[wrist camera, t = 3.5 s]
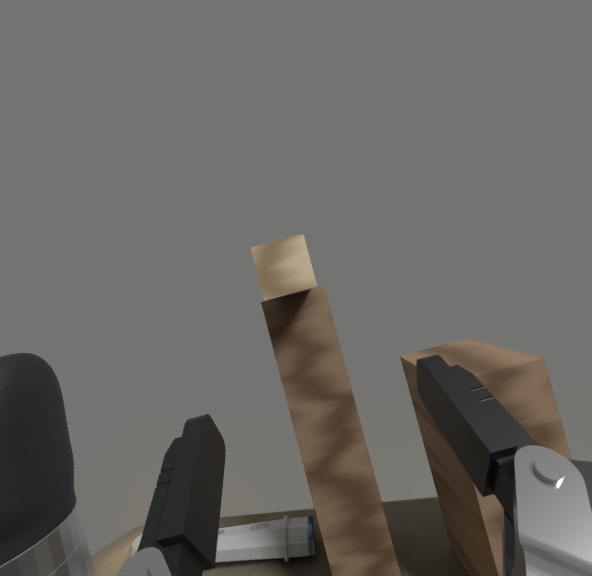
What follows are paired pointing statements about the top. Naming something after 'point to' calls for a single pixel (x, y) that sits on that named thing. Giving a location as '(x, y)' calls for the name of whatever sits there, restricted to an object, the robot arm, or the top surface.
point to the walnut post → (330, 435)
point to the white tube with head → (262, 540)
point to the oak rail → (284, 267)
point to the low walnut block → (446, 466)
